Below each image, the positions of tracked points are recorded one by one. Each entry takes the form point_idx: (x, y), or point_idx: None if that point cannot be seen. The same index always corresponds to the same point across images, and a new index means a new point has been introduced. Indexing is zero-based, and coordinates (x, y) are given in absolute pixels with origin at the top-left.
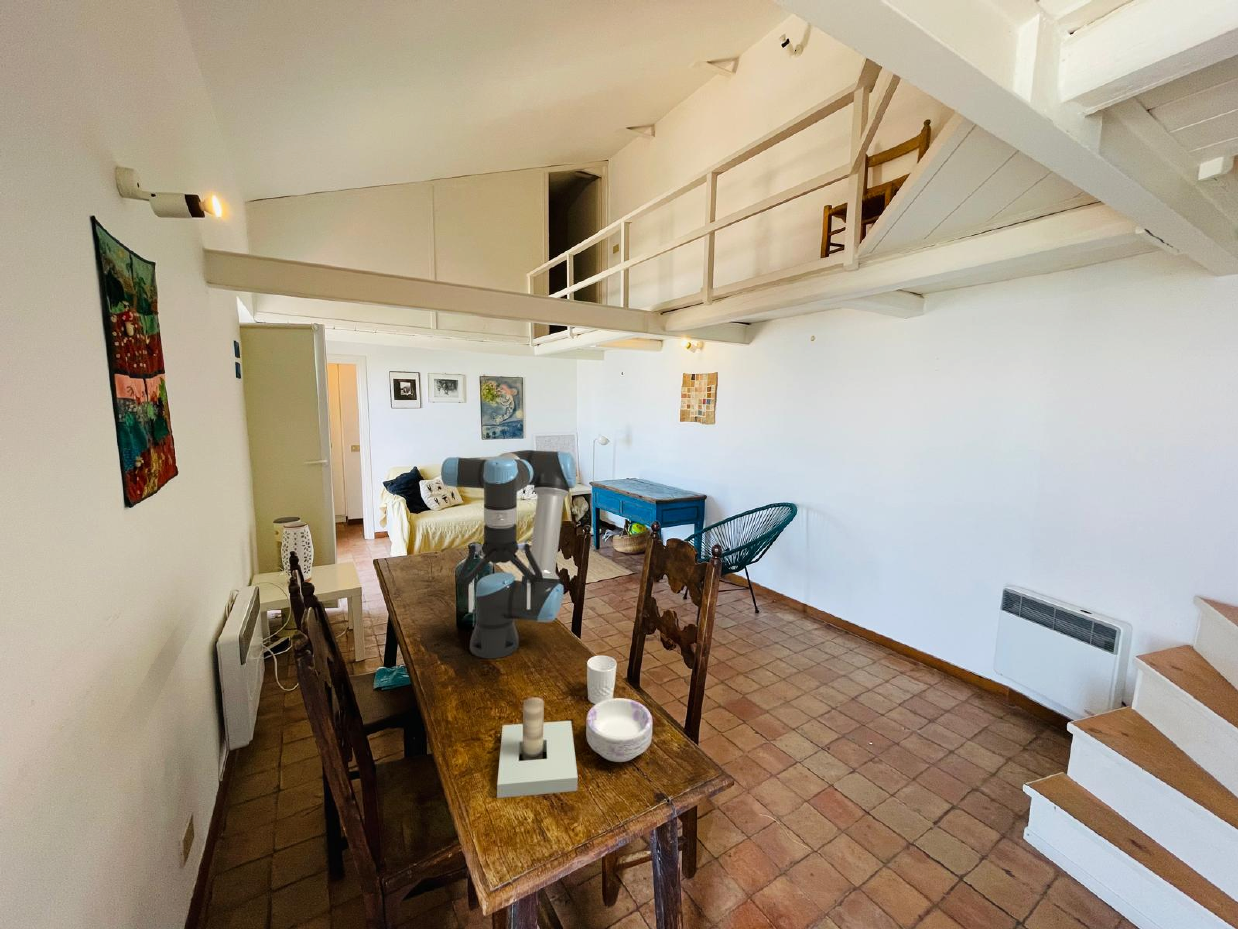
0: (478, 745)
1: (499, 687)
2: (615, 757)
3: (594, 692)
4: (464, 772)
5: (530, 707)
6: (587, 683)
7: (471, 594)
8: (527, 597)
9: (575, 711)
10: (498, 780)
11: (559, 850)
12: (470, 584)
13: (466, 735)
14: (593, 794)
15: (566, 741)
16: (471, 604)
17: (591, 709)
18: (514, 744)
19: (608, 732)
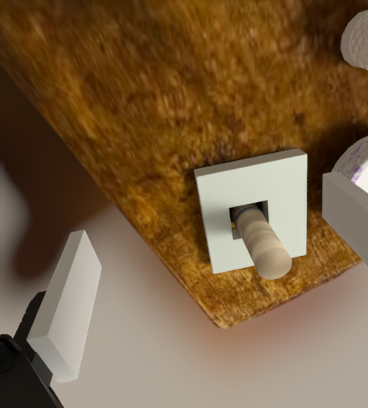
0: (162, 189)
1: (149, 15)
2: None
3: (363, 67)
4: (160, 234)
5: (269, 274)
6: (357, 43)
7: (84, 336)
8: (355, 249)
9: (310, 90)
10: (213, 268)
11: (277, 301)
12: (53, 363)
13: (136, 171)
14: (315, 246)
15: (296, 200)
16: (94, 294)
17: (355, 177)
18: (222, 214)
19: (363, 187)
